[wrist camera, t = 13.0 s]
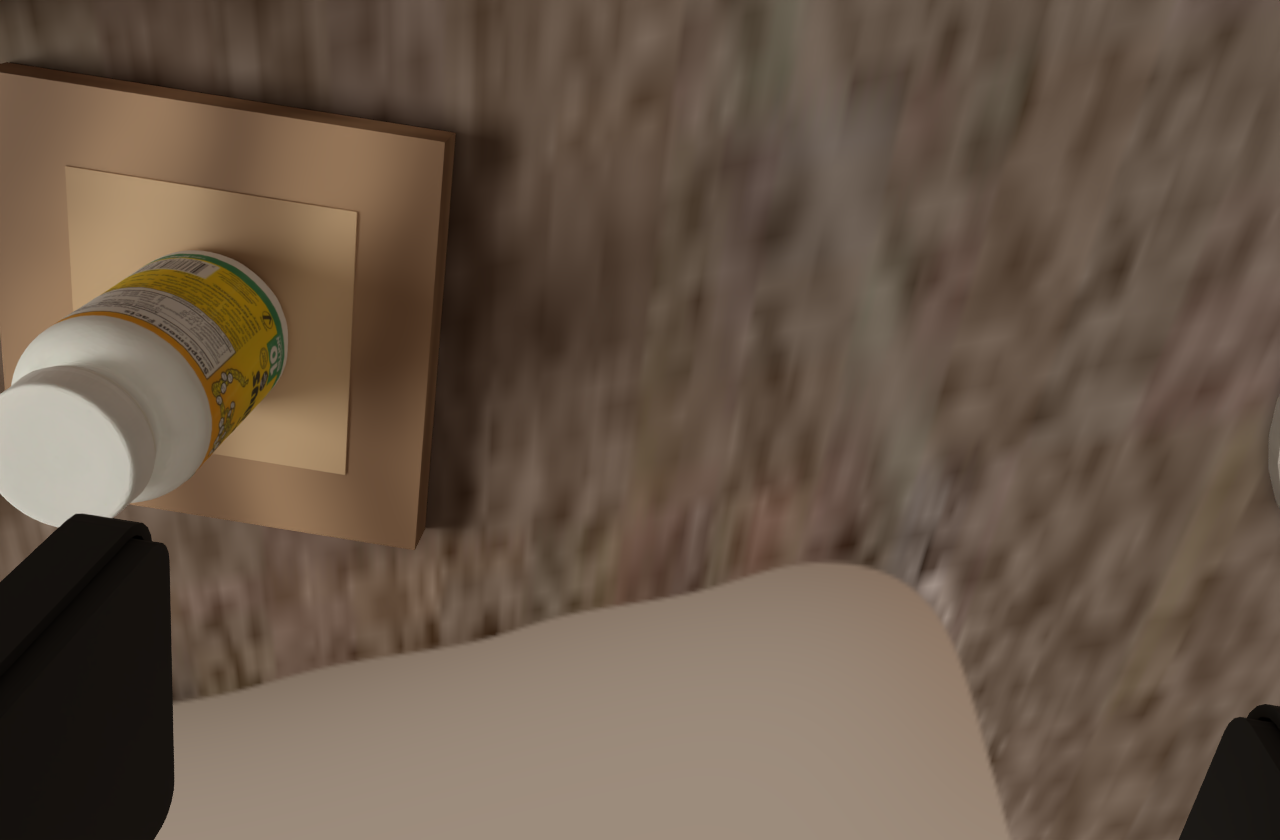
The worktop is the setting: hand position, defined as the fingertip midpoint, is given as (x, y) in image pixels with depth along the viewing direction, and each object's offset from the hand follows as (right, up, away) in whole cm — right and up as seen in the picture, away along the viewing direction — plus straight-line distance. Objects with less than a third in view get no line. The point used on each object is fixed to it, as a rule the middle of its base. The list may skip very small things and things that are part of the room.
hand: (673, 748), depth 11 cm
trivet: (-14, +7, +29) cm, 33 cm away
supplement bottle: (-14, +6, +28) cm, 32 cm away
